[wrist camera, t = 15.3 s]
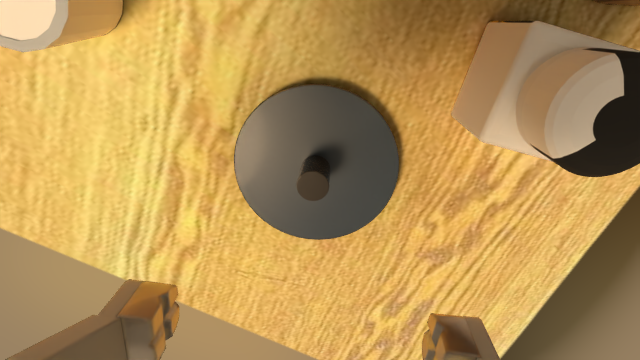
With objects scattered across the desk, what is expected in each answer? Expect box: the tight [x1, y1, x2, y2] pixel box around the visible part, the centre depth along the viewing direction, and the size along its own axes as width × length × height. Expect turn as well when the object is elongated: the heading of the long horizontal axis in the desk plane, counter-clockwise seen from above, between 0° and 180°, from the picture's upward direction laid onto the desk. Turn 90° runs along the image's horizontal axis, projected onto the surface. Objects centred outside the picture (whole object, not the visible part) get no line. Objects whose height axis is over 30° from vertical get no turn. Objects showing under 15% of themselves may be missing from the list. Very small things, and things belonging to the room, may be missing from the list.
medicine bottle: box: [451, 21, 640, 177], centre depth 23 cm, size 7×7×12 cm
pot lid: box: [234, 84, 399, 240], centre depth 29 cm, size 13×13×5 cm
